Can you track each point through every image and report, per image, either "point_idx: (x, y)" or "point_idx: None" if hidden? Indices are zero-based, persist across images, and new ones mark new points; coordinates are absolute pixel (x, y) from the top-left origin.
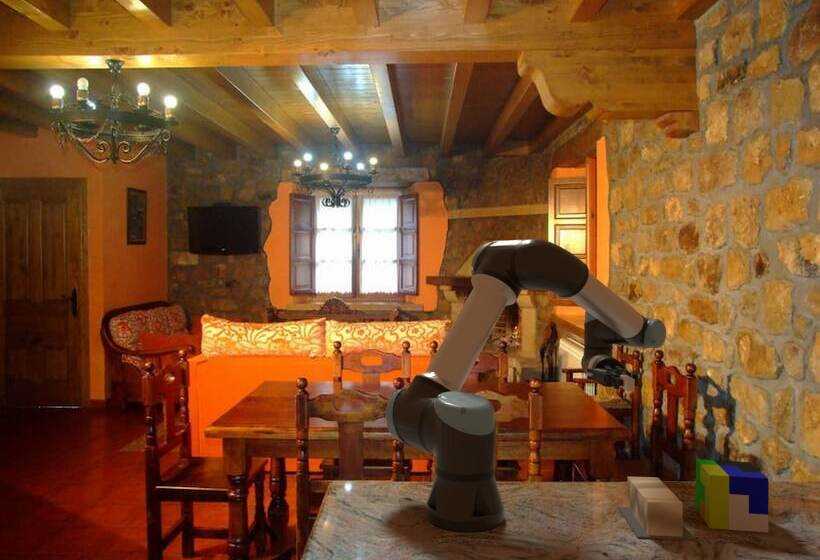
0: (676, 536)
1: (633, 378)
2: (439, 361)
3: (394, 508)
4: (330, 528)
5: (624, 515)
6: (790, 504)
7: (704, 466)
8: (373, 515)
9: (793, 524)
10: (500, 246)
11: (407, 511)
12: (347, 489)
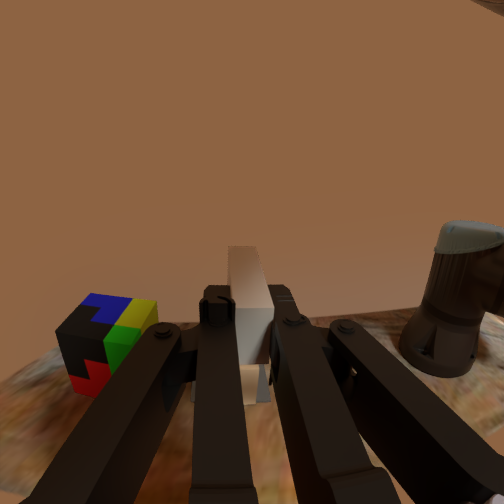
0: None
1: (186, 333)
2: None
3: (493, 349)
4: (492, 318)
5: (265, 378)
6: (4, 400)
7: (140, 321)
8: (492, 337)
9: (57, 361)
10: None
11: (481, 348)
12: None
